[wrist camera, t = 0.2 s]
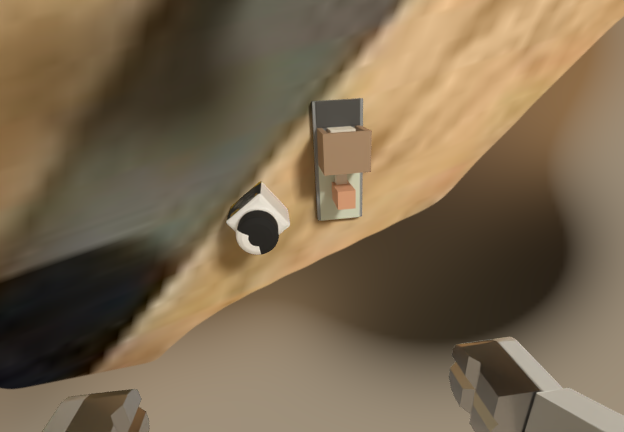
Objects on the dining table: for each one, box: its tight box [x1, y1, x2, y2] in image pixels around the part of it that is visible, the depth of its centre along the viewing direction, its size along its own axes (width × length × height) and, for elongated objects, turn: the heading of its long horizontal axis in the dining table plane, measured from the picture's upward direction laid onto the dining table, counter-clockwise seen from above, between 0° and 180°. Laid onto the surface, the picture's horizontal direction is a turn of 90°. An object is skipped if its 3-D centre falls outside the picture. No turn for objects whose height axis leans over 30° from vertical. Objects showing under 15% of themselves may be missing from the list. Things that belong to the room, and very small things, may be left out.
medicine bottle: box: [226, 182, 290, 255], centre depth 51 cm, size 7×7×12 cm
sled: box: [327, 126, 356, 210], centre depth 51 cm, size 12×4×5 cm, turn 3°
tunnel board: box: [312, 98, 372, 221], centre depth 51 cm, size 20×8×8 cm, turn 3°
